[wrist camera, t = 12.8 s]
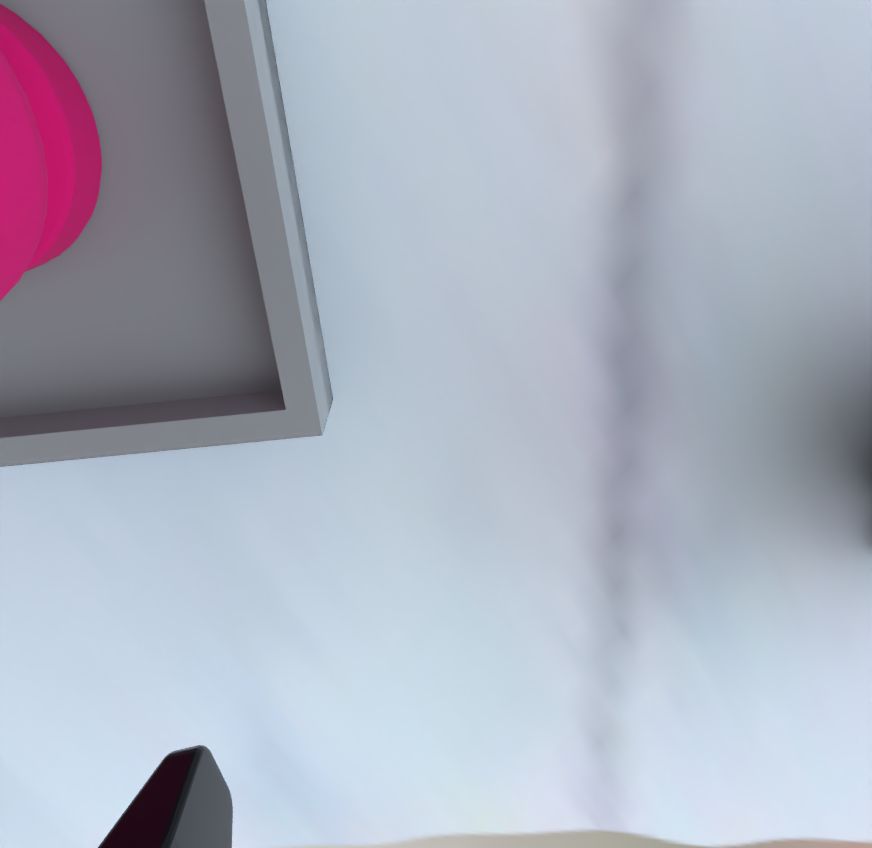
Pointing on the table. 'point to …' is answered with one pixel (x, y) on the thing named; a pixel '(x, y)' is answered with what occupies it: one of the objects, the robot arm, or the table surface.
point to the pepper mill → (41, 152)
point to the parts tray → (169, 248)
